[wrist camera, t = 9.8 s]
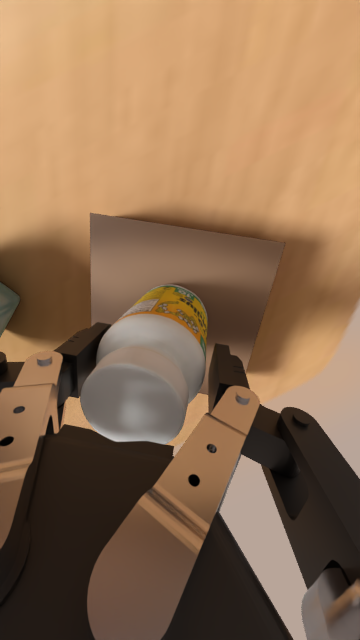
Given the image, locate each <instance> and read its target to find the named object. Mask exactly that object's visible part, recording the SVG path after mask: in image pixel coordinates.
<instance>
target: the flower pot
mask: <svg viewBox="0 0 360 640" xmlns="http://www.w3.org/2000/svg"><path fill="white" fill-rule="evenodd" d="M19 302H20V297H19V296H18V295H17V294H16V293H15V292H13V291H12V290H11V289H9V288H8V287H6V286H5V285H4V284H2V283H1V282H0V337H1V335H2V333H3V332H4V330H5V328H6V326H7V324H8V322H9V320H10V318H11V317H12V315H13V313H14V311H15V309H16V307H17V306H18V304H19Z"/></svg>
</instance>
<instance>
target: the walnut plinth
mask: <svg viewBox="0 0 360 640" xmlns="http://www.w3.org/2000/svg"><path fill="white" fill-rule="evenodd" d="M284 246H285V243H282V242H276V241H269V240H263V239H256V238H250V237H243V236H237V235H230V234H224V233H217V232H211V231H204V230H198V229H192V228H185V227H179V226H172V225H166V224H159V223H153V222H146V221H140V220H133V219H127V218H120V217H114V216H107V215H101V214H94V213H90V256H91V327H92V326H93V325H94V324H95V323H97V322H101V323H107V324H111V325H113V324H114V323H115V322H116V321H117V320H119V319H120V318H121V317H122V316H123V315H124V314H125V313H126V312H127V311H128V310H129V309H130V308H131V307H132V306H133V305H134V304H135V303H136V302H137V301H138V300H139V299H141V298H142V297H143V296H144V295H145V294H146V293H147V292H148V291H150V290H151V289H153V288H155V287H158V286H161V285H167V284H173V285H178V286H181V287H183V288H185V289H187V290H189V291H191V292H193V293H194V294H195V295H196V296H197V297H198V298H199V299H200V300H201V302H202V303H203V305H204V307H205V310H206V313H207V343H206V371H205V377H204V381H203V384H202V386H201V389H200V391H199V392H198V393H201V394H207V395H208V374H209V367H210V363H211V358H212V354H213V350H214V346H215V343H218V344H223V345H229V349H230V354H231V355H235V356H238V357H239V359H240V360H241V361H242V363H243V366H244V370H245V373H246V370H247V366H248V363H249V360H250V357H251V353H252V350H253V347H254V344H255V340H256V337H257V334H258V331H259V327H260V324H261V321H262V318H263V314H264V311H265V308H266V305H267V301H268V298H269V295H270V292H271V288H272V285H273V282H274V279H275V275H276V272H277V269H278V266H279V262H280V259H281V256H282V253H283V249H284Z"/></svg>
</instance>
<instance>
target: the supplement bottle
mask: <svg viewBox="0 0 360 640" xmlns="http://www.w3.org/2000/svg"><path fill="white" fill-rule="evenodd" d="M206 343H207V313H206V310H205V307H204V305H203V303H202V302H201V300H200V299H199V298H198V297H197V296H196V295H195V294H194V293H193V292H191V291H189V290H187V289H185V288H183V287H181V286H178V285H173V284H167V285H161V286H158V287H155V288H153V289H151V290H150V291H148V292H147V293H146V294H145V295H144V296H143V297H142V298H141V299H139V300H138V301H137V302H136V303H135V304H134V305H133V306H132V307H131V308H130V309H129V310H128V311H127V312H126V313H125V314H124V315H123V316H122V317H121V318H120V319H119V320H117V321H116V322H115V323H114V324H113V325H112V326H111V327H110V328H109V329H108V331H107V332H106V333H105V334H104V336H103V337H102V339H101V341H100V344H99V346H98V350H97V355H96V367H95V369H94V370H93V371H92V372H91V374H90V375H89V376H88V377H87V379H86V380H85V382H84V384H83V386H82V389H81V396H80V402H81V407H82V410H83V413H84V415H85V417H86V419H87V420H88V422H89V423H90V424H91V426H92V427H93V428H94V429H95V430H96V431H97V432H98V433H99V434H101V435H103V436H105V437H107V438H109V439H111V440H113V441H116V442H126V441H150V442H155V443H160V444H167V443H168V442H170V441H171V440H173V439H174V438H175V437H176V436H177V435H178V434H179V432H180V430H181V429H182V426H183V424H184V420H185V415H186V410H187V406H188V403H190V402H191V401H192V400H193V399H194V398H195V396H196V395H197V394H198V392H199V391H200V389H201V386H202V384H203V381H204V377H205V371H206Z"/></svg>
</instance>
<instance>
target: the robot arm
mask: <svg viewBox="0 0 360 640" xmlns="http://www.w3.org/2000/svg"><path fill="white" fill-rule="evenodd" d="M111 326H112V325H111V324H107V323H101V322H97V323H95V324H94V325H93V326H92V327H91V328H89V329H84V330H81V331H79V332H77V333H76V334H75V335H73V337H71V338H70V339H68V341H66V342H65V343H63V344H62V345H61V346H60V347H58V348H57V349H56V350H54V351H44V352H39V353H36V354H33V355H31V356H30V357H28V358H27V359H26V361H25V362H7V359H6V355H5V354H4V353H3V352H0V640H293V638H292V636H291V634H290V633H289V631H288V629H287V628H286V626H285V624H284V622H283V621H282V619H281V617H280V616H279V614H278V612H277V610H276V609H275V607H274V605H273V604H272V602H271V600H270V599H269V597H268V595H267V593H266V592H265V590H264V588H263V587H262V585H261V583H260V581H259V580H258V578H257V576H256V575H255V573H254V571H253V570H252V568H251V566H250V564H249V563H248V561H247V559H246V558H245V556H244V554H243V552H242V551H241V549H240V547H239V546H238V544H237V542H236V540H235V539H234V537H233V535H232V533H231V532H230V530H229V528H228V527H227V525H226V523H225V522H224V520H223V518H222V516H221V515H220V513H219V511H220V509H221V506H222V504H223V501H224V498H225V496H226V493H227V490H228V487H229V485H230V482H231V480H232V477H233V475H234V472H235V470H236V467H237V465H238V462H239V460H240V457H241V454H242V455H244V456H246V457H248V458H250V459H252V460H254V461H256V462H258V463H260V464H261V466H262V469H263V472H264V474H265V477H266V480H267V482H268V485H269V488H270V491H271V493H272V496H273V498H274V501H275V504H276V507H277V509H278V512H279V515H280V517H281V520H282V523H283V525H284V528H285V531H286V533H287V536H288V539H289V541H290V544H291V547H292V549H293V552H294V555H295V557H296V560H297V563H298V565H299V568H300V571H301V573H302V576H303V579H304V581H305V584H306V587H307V589H308V590H307V592H306V593H305V595H304V597H303V600H302V607H301V608H302V620H303V624H304V629H305V633H306V637H307V640H360V479H359V478H358V476H357V475H356V474H355V472H354V471H353V470H352V468H351V467H350V465H349V464H348V463H347V461H346V460H345V459H344V458H343V456H342V455H341V453H340V452H339V451H338V449H337V448H336V447H335V445H334V444H333V443H332V441H331V440H330V439H329V437H328V436H327V434H326V433H325V432H324V430H323V429H322V428H321V426H320V425H319V424H318V423H317V421H316V420H315V419H314V418H313V417H312V416H311V415H309V414H308V413H306V412H304V411H303V410H300V409H297V408H294V407H286V408H284V409H283V410H282V411H281V413H277V412H275V411H273V410H270V409H268V408H266V407H264V406H262V405H261V404H260V400H259V398H258V396H257V395H256V394H255V393H254V392H253V391H251V390H250V388H249V384H248V381H247V377H246V374H245V370H244V366H243V363H242V361H241V360H240V359H239V357H238V356H235V355H231V354H230V349H229V345H223V344H218V343H215V346H214V350H213V354H212V358H211V363H210V367H209V374H208V402H209V413H206V414H205V415H204V416H203V417H202V419H201V420H200V422H199V423H198V424H197V426H196V427H195V429H194V430H193V432H192V433H191V434H190V436H189V437H188V439H187V440H186V441H185V443H184V444H183V446H182V447H181V449H180V450H179V451H178V453H177V454H176V455H175V457H174V456H172V455H173V449H174V446H170V445H165V444H160V443H155V442H150V441H126V442H116V441H113V440H111V439H109V438H107V437H105V436H103V435H101V434H99V433H97V432H95V431H93V430H91V429H86V428H81V427H76V426H71V425H66V424H64V425H63V423H64V416H65V410H66V399H67V398H68V397H69V396H70V397H75V398H79V397H80V395H81V389H82V386H83V384H84V382H85V380H86V379H87V377H88V376H89V375H90V374H91V372H92V371H93V370H94V369H95V367H96V355H97V350H98V346H99V344H100V341H101V339H102V337H103V336H104V334H105V333H106V332H107V331H108V329H109V328H110V327H111Z"/></svg>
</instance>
